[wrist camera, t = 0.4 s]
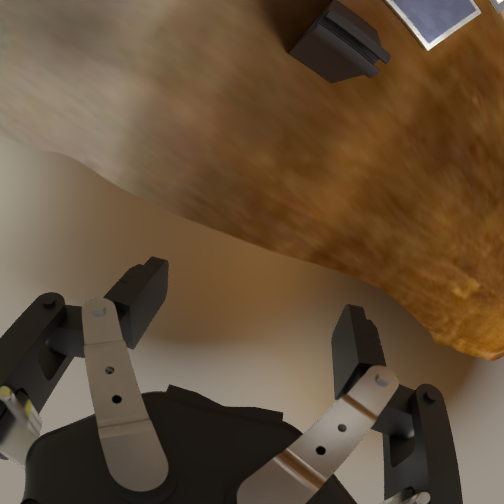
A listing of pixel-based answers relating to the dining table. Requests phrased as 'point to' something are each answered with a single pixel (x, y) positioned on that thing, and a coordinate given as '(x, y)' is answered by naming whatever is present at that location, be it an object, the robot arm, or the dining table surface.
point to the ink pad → (433, 17)
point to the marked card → (498, 5)
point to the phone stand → (340, 45)
